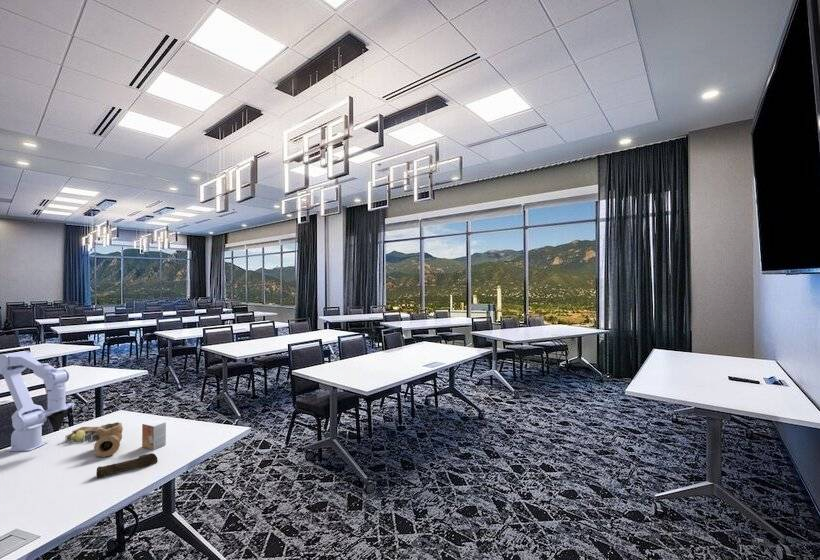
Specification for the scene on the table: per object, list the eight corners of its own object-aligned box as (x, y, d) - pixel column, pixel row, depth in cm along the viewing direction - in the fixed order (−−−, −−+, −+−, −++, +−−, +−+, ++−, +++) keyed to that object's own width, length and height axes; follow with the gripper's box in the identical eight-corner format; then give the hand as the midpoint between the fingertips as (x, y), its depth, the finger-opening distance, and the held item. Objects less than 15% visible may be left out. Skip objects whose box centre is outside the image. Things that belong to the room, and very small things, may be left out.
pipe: (92, 460, 149) (92, 436, 149) (98, 446, 163) (98, 424, 163) (120, 454, 154) (120, 431, 154) (123, 440, 168) (123, 419, 168)
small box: (141, 447, 161) (141, 423, 161) (154, 441, 166) (154, 419, 166) (153, 450, 158) (153, 426, 158) (166, 444, 163) (166, 421, 163)
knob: (88, 438, 171) (87, 428, 171) (78, 443, 165) (78, 432, 165) (78, 438, 171) (78, 428, 171) (67, 443, 165) (67, 432, 165)
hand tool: (95, 480, 135) (95, 468, 135) (97, 475, 138) (97, 463, 138) (156, 466, 145) (156, 455, 145) (157, 462, 148) (157, 451, 148)
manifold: (64, 442, 167) (64, 434, 167) (82, 434, 176) (81, 426, 176) (103, 441, 167) (103, 434, 167) (118, 433, 176) (118, 426, 176)
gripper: (49, 403, 152) (49, 435, 152) (80, 393, 166) (80, 422, 166) (32, 404, 152) (32, 436, 152) (65, 393, 166) (65, 422, 166)
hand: (56, 428), depth 159 cm, fingers closed
